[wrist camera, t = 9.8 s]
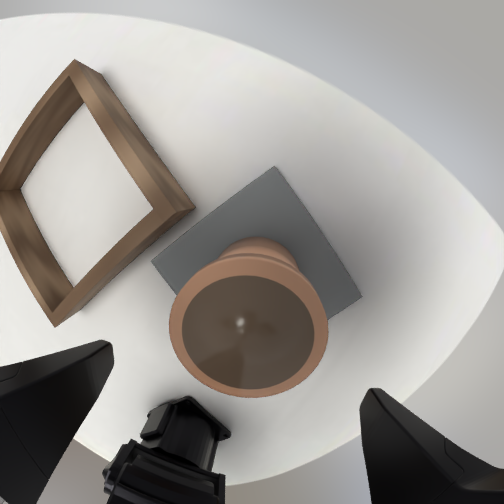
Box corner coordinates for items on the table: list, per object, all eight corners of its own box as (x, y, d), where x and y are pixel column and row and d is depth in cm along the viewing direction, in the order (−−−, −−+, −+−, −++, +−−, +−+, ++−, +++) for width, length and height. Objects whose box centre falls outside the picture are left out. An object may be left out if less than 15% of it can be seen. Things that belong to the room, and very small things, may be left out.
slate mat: (360, 293, 19) (362, 296, 19) (241, 365, 21) (240, 369, 21) (274, 166, 18) (274, 165, 17) (153, 259, 20) (150, 261, 19)
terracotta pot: (324, 290, 19) (355, 352, 11) (246, 339, 20) (233, 415, 12) (267, 210, 18) (266, 224, 10) (188, 268, 19) (139, 317, 11)
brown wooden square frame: (195, 207, 19) (176, 211, 15) (80, 309, 22) (54, 327, 18) (100, 74, 17) (74, 59, 13) (13, 188, 20) (-15, 191, 16)
